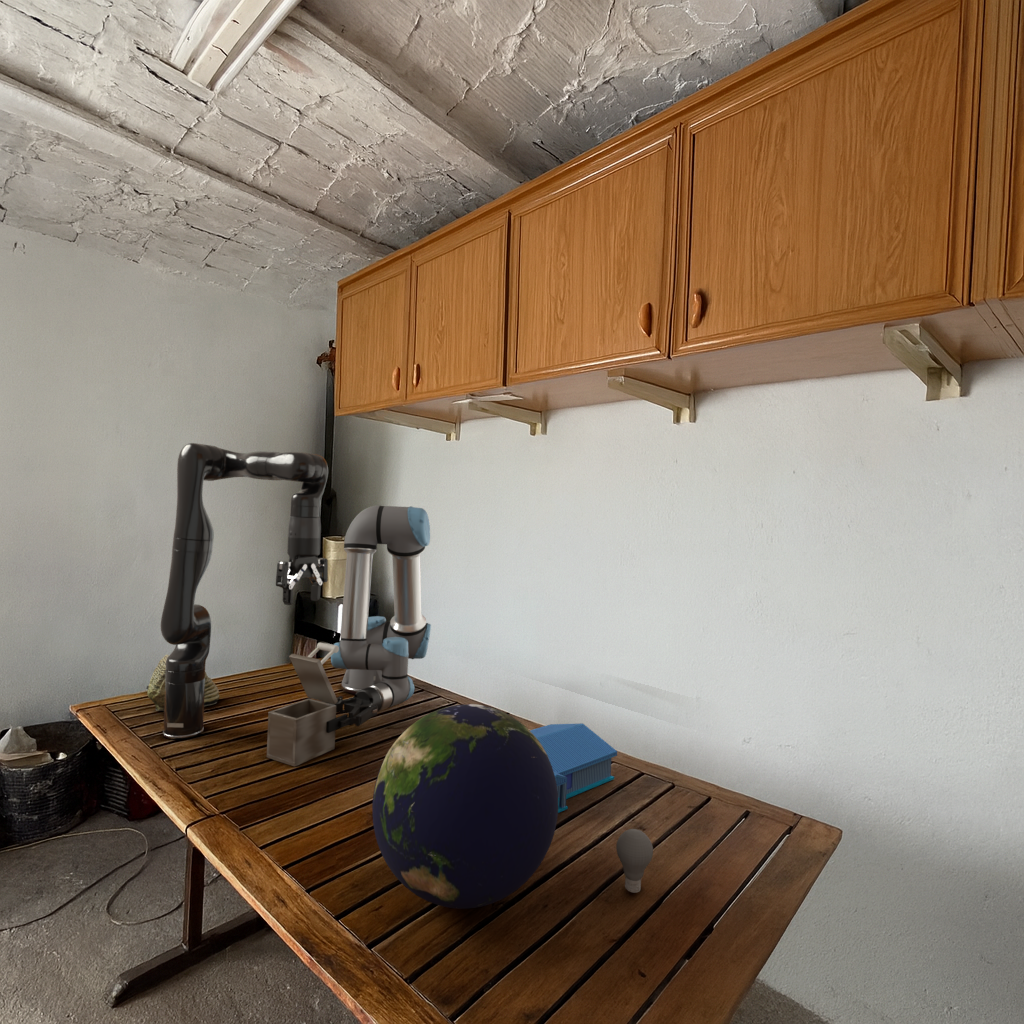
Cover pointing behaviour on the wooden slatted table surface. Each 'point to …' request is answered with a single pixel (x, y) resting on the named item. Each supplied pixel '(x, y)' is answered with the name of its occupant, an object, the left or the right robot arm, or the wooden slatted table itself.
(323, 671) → the lid
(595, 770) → the model building
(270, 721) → the chest
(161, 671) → the fossil
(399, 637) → the right robot arm
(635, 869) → the light bulb
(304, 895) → the wooden slatted table surface
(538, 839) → the globe
